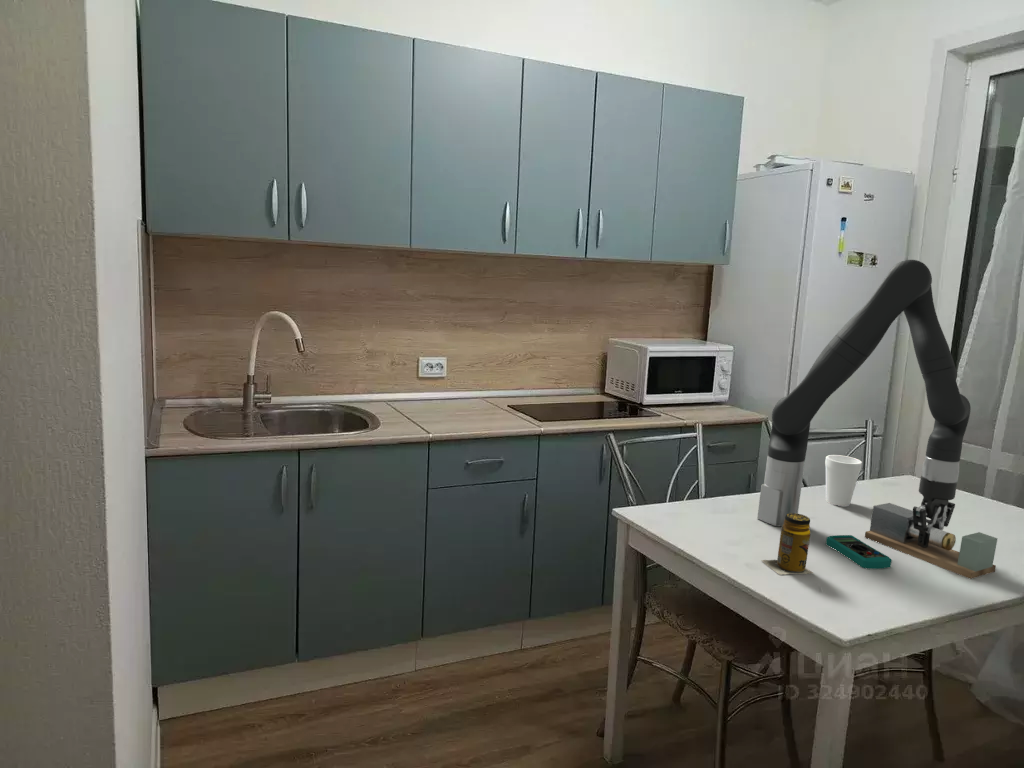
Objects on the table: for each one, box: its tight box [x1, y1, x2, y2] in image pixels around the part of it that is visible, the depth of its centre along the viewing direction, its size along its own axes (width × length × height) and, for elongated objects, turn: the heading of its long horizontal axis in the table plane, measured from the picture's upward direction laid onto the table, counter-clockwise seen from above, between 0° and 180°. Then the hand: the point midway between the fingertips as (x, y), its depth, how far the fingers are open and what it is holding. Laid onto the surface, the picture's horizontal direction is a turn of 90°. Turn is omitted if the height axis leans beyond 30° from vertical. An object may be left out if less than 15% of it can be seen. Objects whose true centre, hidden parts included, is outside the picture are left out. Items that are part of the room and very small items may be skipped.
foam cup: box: [824, 454, 863, 507], centre depth 210 cm, size 10×9×13 cm
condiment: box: [761, 513, 814, 576], centre depth 162 cm, size 7×8×12 cm
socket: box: [957, 531, 998, 572], centre depth 166 cm, size 7×4×7 cm, turn 120°
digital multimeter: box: [825, 534, 892, 570], centre depth 172 cm, size 7×15×3 cm, turn 12°
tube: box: [870, 514, 957, 551], centre depth 179 cm, size 4×19×4 cm, turn 30°
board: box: [864, 530, 996, 580], centre depth 176 cm, size 10×26×2 cm, turn 30°
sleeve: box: [869, 502, 918, 544], centre depth 182 cm, size 7×9×7 cm
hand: (927, 544), depth 175 cm, fingers closed on tube, 4 cm apart
